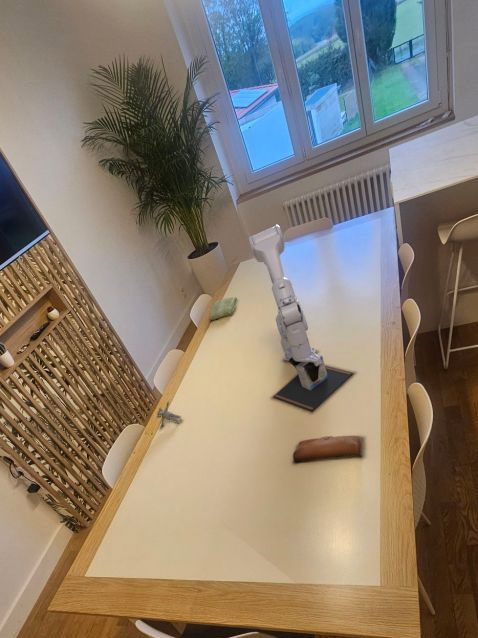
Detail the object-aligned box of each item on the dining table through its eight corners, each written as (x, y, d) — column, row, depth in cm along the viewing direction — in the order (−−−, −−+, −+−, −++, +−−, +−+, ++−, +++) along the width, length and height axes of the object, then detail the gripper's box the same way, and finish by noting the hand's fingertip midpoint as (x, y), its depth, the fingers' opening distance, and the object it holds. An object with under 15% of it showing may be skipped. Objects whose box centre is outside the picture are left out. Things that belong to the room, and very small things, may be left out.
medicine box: (310, 391, 133) (303, 369, 128) (301, 387, 137) (294, 365, 131) (328, 377, 135) (322, 355, 129) (319, 374, 138) (313, 352, 133)
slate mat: (273, 397, 139) (272, 396, 139) (312, 363, 145) (311, 362, 145) (312, 412, 127) (311, 410, 126) (353, 373, 132) (352, 372, 132)
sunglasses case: (361, 434, 112) (358, 427, 106) (363, 459, 110) (359, 453, 104) (297, 441, 119) (290, 435, 113) (298, 465, 117) (291, 460, 111)
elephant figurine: (172, 432, 147) (151, 425, 150) (180, 433, 153) (159, 426, 155) (180, 405, 145) (158, 398, 148) (187, 407, 151) (166, 400, 154)
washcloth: (238, 298, 209) (235, 292, 207) (233, 315, 197) (231, 309, 195) (214, 306, 214) (212, 300, 212) (209, 322, 202) (206, 317, 199)
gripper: (324, 339, 120) (334, 376, 129) (293, 329, 131) (304, 364, 140) (306, 352, 119) (317, 389, 128) (276, 341, 129) (288, 376, 138)
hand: (309, 377), depth 134 cm, fingers open, 5 cm apart
